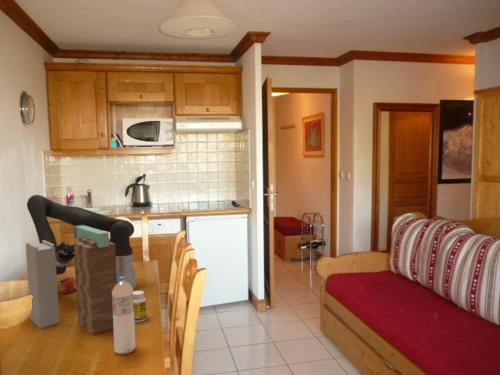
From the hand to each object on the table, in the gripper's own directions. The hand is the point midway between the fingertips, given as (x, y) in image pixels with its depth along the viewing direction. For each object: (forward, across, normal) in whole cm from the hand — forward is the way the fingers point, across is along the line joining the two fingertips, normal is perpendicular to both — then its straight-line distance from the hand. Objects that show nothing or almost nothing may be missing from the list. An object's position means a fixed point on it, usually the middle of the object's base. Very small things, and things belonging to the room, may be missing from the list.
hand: (74, 242), depth 170 cm
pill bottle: (+8, +14, +39) cm, 42 cm away
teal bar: (+16, 0, +6) cm, 17 cm away
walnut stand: (+2, 0, +35) cm, 35 cm away
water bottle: (+25, -2, +49) cm, 55 cm away
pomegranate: (-40, +6, +11) cm, 42 cm away
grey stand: (-14, -14, +26) cm, 32 cm away
